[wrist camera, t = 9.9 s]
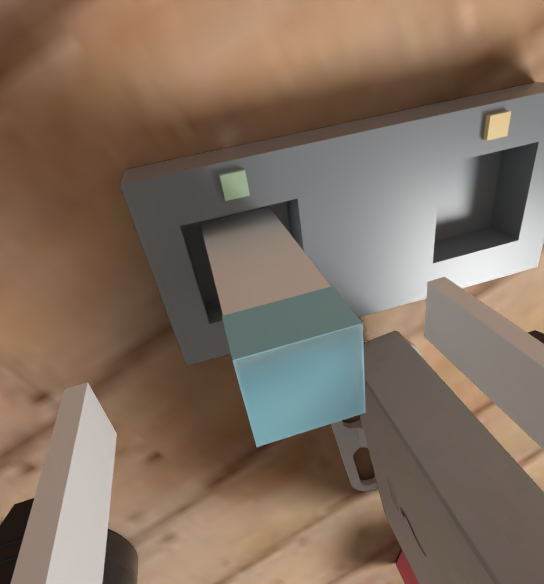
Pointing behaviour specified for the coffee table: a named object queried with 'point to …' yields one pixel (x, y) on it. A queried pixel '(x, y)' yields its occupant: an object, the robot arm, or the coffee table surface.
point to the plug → (284, 328)
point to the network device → (442, 475)
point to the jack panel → (357, 205)
